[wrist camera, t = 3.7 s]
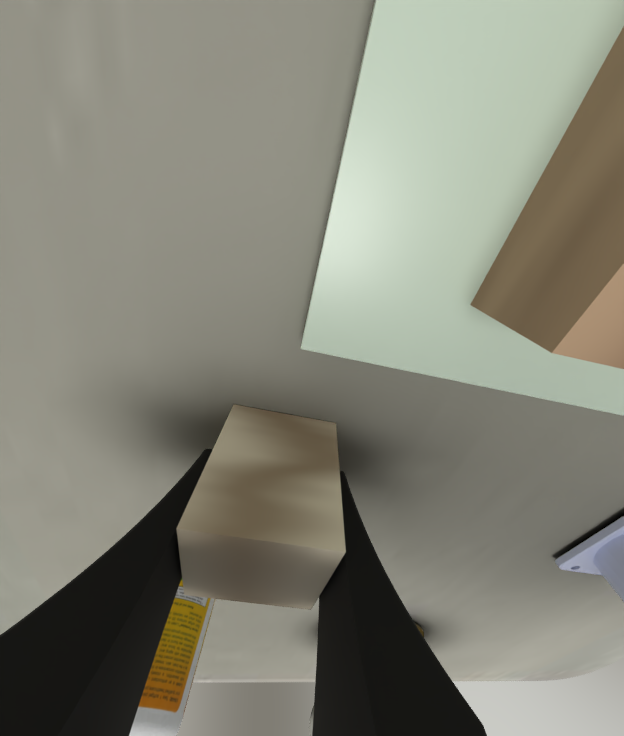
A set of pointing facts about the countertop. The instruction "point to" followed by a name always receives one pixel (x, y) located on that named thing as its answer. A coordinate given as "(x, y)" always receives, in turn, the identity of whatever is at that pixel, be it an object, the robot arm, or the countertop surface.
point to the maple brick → (265, 512)
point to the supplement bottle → (173, 667)
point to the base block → (571, 237)
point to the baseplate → (454, 188)
